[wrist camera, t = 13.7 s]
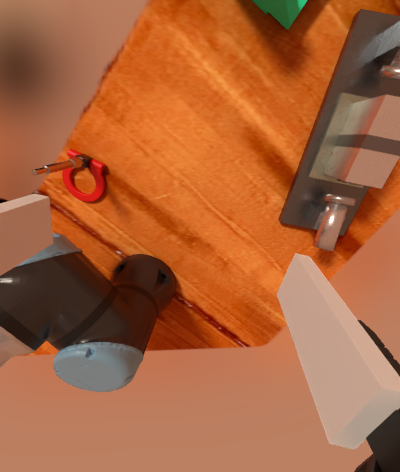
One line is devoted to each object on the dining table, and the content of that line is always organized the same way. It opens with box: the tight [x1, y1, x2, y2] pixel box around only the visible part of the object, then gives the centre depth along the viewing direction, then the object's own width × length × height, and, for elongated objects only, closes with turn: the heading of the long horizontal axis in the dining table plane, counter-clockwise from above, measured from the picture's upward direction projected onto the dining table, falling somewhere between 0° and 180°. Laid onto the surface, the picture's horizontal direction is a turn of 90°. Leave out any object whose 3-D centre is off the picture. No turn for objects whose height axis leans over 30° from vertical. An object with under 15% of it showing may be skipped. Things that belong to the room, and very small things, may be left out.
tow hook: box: [32, 149, 105, 202], centre depth 37 cm, size 8×13×9 cm
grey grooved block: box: [324, 95, 400, 189], centre depth 30 cm, size 11×5×7 cm, turn 169°
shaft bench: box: [279, 9, 400, 251], centre depth 31 cm, size 32×12×9 cm, turn 169°
